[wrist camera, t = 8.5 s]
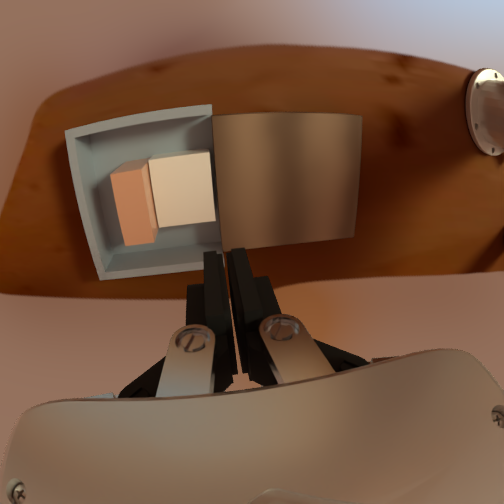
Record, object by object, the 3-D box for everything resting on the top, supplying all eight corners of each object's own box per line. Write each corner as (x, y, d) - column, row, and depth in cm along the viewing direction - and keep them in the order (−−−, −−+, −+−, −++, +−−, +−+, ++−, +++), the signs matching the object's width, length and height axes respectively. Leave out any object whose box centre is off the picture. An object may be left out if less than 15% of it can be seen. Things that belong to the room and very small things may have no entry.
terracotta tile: (141, 169, 20) (110, 174, 20) (154, 242, 23) (125, 246, 23) (152, 157, 24) (125, 161, 24) (161, 219, 27) (136, 222, 27)
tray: (210, 104, 23) (211, 104, 20) (221, 246, 30) (224, 266, 27) (82, 126, 22) (64, 130, 19) (109, 259, 29) (99, 280, 25)
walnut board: (347, 113, 26) (362, 115, 23) (341, 225, 31) (353, 237, 29) (210, 115, 24) (211, 116, 21) (220, 237, 30) (222, 251, 27)
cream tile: (208, 148, 25) (209, 152, 23) (214, 210, 28) (215, 220, 26) (152, 155, 24) (148, 160, 22) (162, 217, 27) (158, 227, 25)
